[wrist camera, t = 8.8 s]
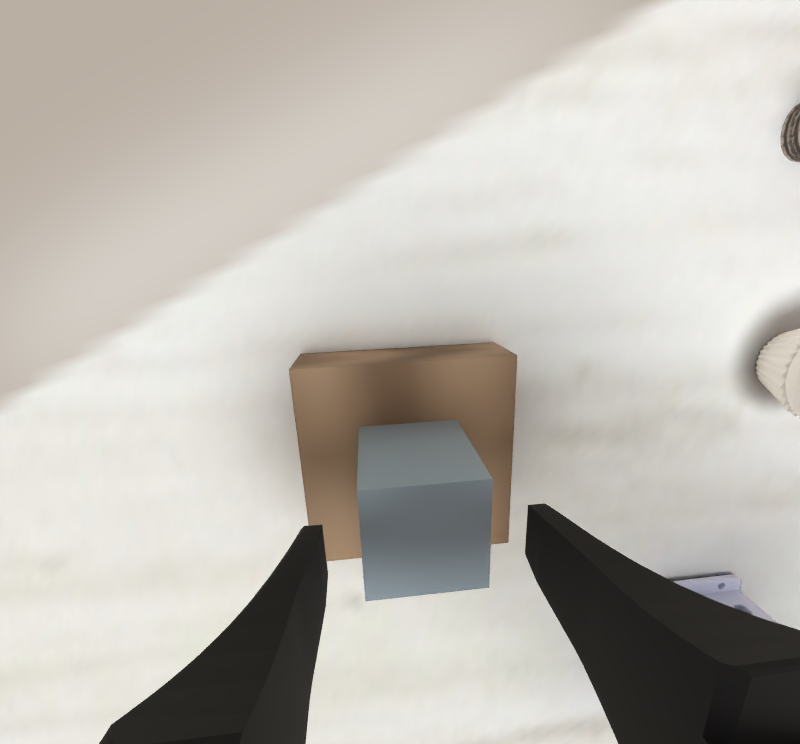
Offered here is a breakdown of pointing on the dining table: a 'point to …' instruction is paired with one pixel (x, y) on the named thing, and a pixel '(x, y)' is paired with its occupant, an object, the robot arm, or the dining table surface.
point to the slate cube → (422, 510)
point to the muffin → (782, 369)
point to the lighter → (791, 135)
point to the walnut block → (397, 421)
